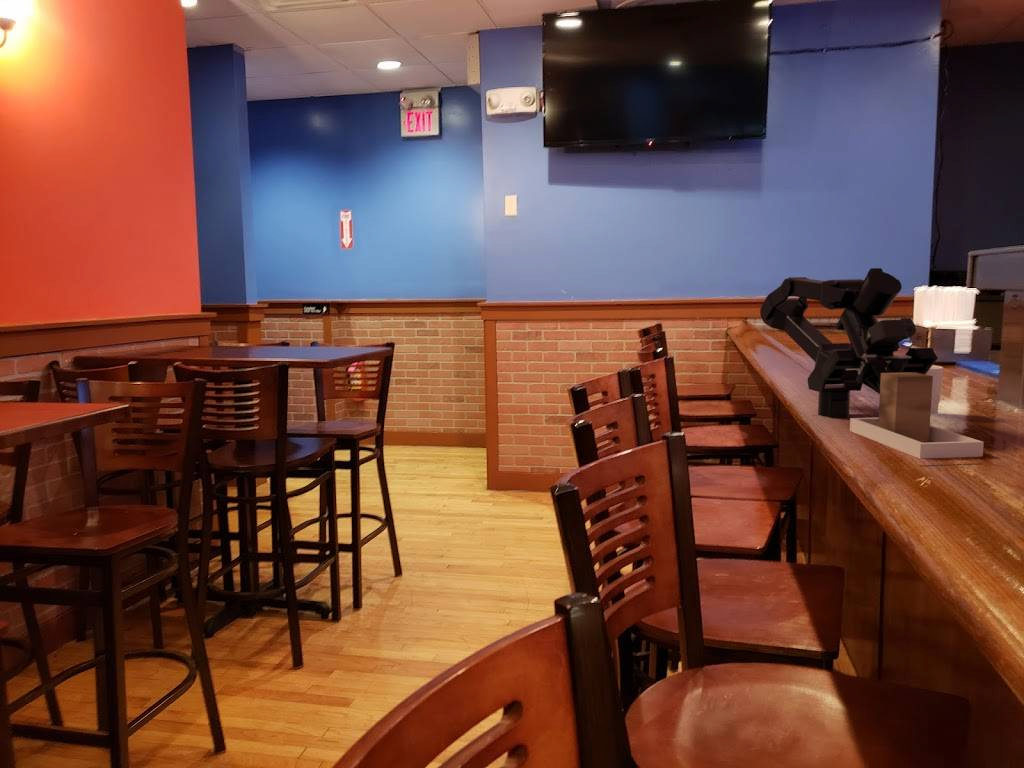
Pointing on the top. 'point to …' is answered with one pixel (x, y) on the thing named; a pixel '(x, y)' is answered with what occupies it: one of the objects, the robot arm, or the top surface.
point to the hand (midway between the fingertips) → (895, 402)
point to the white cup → (936, 386)
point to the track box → (942, 446)
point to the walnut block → (906, 404)
